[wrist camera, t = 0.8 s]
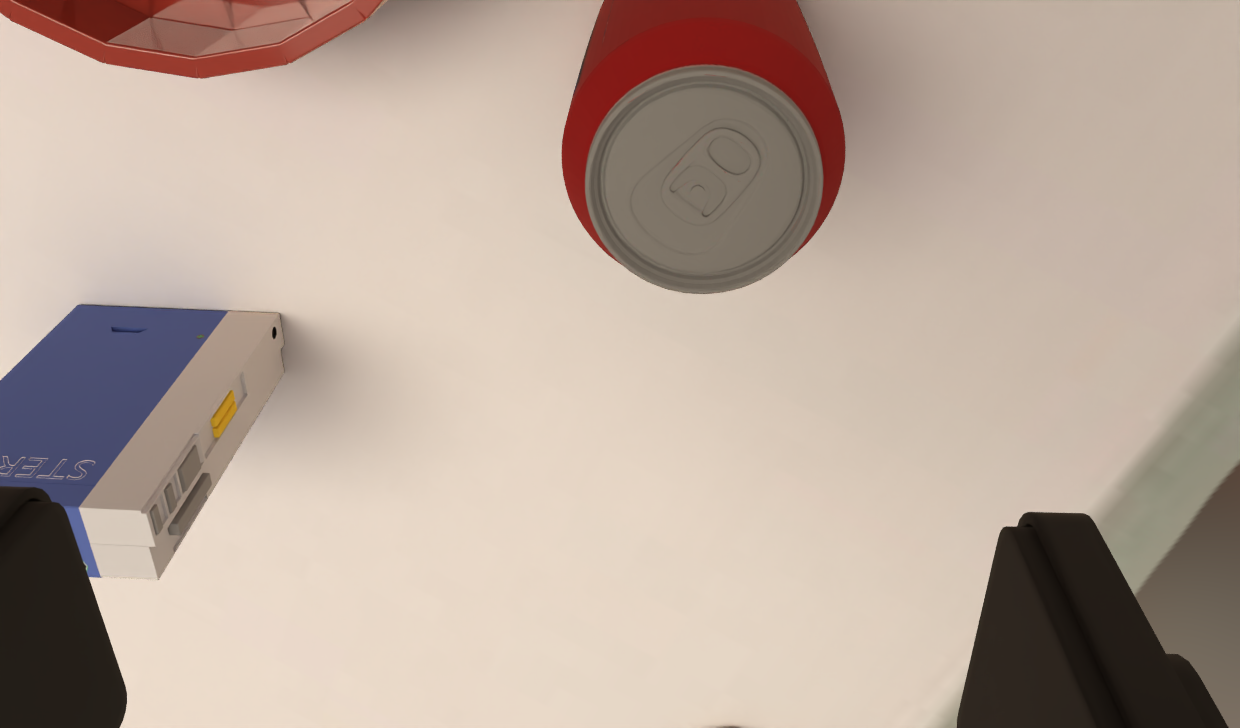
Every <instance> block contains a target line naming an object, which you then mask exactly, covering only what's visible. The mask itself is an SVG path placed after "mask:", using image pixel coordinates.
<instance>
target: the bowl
mask: <svg viewBox="0 0 1240 728" xmlns="http://www.w3.org/2000/svg"><path fill="white" fill-rule="evenodd" d="M386 1H387V0H0V13H2V14H3V15H4V16H5V17H7V18H10V20H11V21H13V22H15V23H17V24H19V25H22V26H24V27H26V28H28V29H30V30H32V31H35V32H37V33H39V34H41V35H43V36H45V37H48V38H50V39H52V40H54V41H56V42H58V43H60V44H63V45H65V46H67V47H69V48H71V49H73V50H76V51H78V52H80V53H82V54H84V55H86V56H89V57H91V58H93V59H95V60H97V61H99V62H102V63H106V64H110V65H117V66H123V67H129V68H135V69H142V70H148V71H154V72H161V73H167V74H173V75H179V76H186V77H192V78H202V79H203V78H209V77H215V76H221V75H227V74H233V73H239V72H246V71H252V70H258V69H264V68H270V67H276V66H282V65H287V64H289V63H292V62H294V61H296V60H298V59H299V58H301V57H303V56H305V55H306V54H308V53H310V52H312V51H314V50H315V49H317V48H319V47H321V46H322V45H324V44H326V43H328V42H329V41H331V40H333V39H335V38H336V37H338V36H340V35H342V34H343V33H345V32H347V31H349V30H350V29H352V28H354V27H356V26H358V25H359V24H361V23H363V22H365V21H366V20H367V19H368V18H370V17H371V16H372V15H373V14H374V13H375V12H376V11H377V10H378V9H379V8H380V7H381V6H382V5H383V4H384V3H385V2H386Z"/></svg>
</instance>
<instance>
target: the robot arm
mask: <svg viewBox="0 0 1240 728" xmlns="http://www.w3.org/2000/svg"><path fill="white" fill-rule="evenodd" d="M126 704H127V692H126V687H125V684H124V681H123V678H122V675H121V672H120V669H119V666H118V663H117V660H116V657H115V654H114V651H113V648H112V645H111V642H110V639H109V636H108V633H107V631H106V628H105V625H104V622H103V619H102V616H101V613H100V610H99V607H98V604H97V601H96V598H95V595H94V592H93V589H92V586H91V583H90V580H89V577H88V574H87V571H86V568H85V565H84V562H83V559H82V556H81V554H80V551H79V548H78V545H77V542H76V539H75V536H74V533H73V530H72V527H71V524H70V521H69V518H68V515H67V513H66V511H65V509H64V507H63V506H62V505H61V504H60V503H56V502H52V501H51V499H50V497H49V495H48V494H47V493H46V492H45V491H44V490H43V489H40V488H36V487H12V486H0V728H120V725H121V723H122V721H123V718H124V715H125V711H126ZM957 728H1228V726H1227V724H1226V723H1225V721H1224V719H1223V717H1222V716H1221V714H1220V712H1219V710H1218V708H1217V707H1216V705H1215V703H1214V701H1213V700H1212V698H1211V696H1210V694H1209V692H1208V691H1207V689H1206V687H1205V685H1204V684H1203V682H1202V680H1201V678H1200V677H1199V675H1198V674H1197V672H1196V671H1195V669H1194V668H1193V667H1192V666H1191V664H1190V663H1189V661H1187V660H1186V659H1184V658H1183V657H1181V656H1180V655H1178V654H1166V653H1165V651H1164V650H1163V648H1162V646H1161V644H1160V642H1159V640H1158V638H1157V637H1156V635H1155V634H1154V631H1153V629H1152V627H1151V626H1150V624H1149V622H1148V620H1147V618H1146V617H1145V615H1144V613H1143V611H1142V609H1141V607H1140V605H1139V604H1138V602H1137V600H1136V598H1135V596H1134V594H1133V593H1132V591H1131V589H1130V587H1129V585H1128V583H1127V581H1126V580H1125V578H1124V576H1123V574H1122V572H1121V570H1120V569H1119V567H1118V565H1117V563H1116V561H1115V559H1114V558H1113V556H1112V554H1111V552H1110V550H1109V548H1108V547H1107V545H1106V543H1105V541H1104V539H1103V537H1102V536H1101V534H1100V532H1099V530H1098V528H1097V526H1096V525H1095V523H1094V522H1093V520H1092V519H1091V517H1090V516H1088V515H1086V514H1083V513H1043V512H1027V513H1024V514H1023V516H1022V517H1021V518H1020V520H1019V523H1018V526H1017V527H1004V528H1003V529H1002V530H1001V532H1000V535H999V538H998V542H997V546H996V551H995V555H994V559H993V564H992V568H991V572H990V577H989V581H988V586H987V590H986V594H985V599H984V603H983V607H982V612H981V616H980V620H979V625H978V629H977V634H976V638H975V642H974V647H973V651H972V655H971V660H970V664H969V669H968V673H967V677H966V682H965V686H964V690H963V695H962V699H961V703H960V708H959V712H958V718H957Z"/></svg>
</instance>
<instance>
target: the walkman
mask: <svg viewBox="0 0 1240 728" xmlns="http://www.w3.org/2000/svg"><path fill="white" fill-rule="evenodd" d="M283 345H284V339H283V333H282V327H281V321H280V315H279V313H263V312H241V311H209V310H185V309H162V308H138V307H115V306H91V305H77V306H76V307H75V308H74V309H73V310H72V311H71V312H70V313H69V314H68V315H67V316H66V317H65V318H64V319H63V320H62V321H61V322H60V323H59V324H58V325H57V326H56V327H55V328H54V329H53V330H52V331H51V332H50V333H49V334H48V335H47V336H46V337H45V338H44V339H42V340H41V341H40V342H39V343H38V344H37V345H36V346H35V347H34V348H33V349H32V350H31V351H30V352H29V353H28V354H27V355H26V356H25V357H24V358H23V359H22V360H21V361H20V362H19V363H18V364H17V365H16V366H15V367H14V368H13V369H12V370H11V371H10V372H9V373H8V374H7V375H6V376H5V377H4V378H2V379H1V380H0V486H12V487H36V488H40V489H43V490H44V491H45V492H46V493H47V494H48V495H49V497H50V499H51V501H52V502H56V503H60V504H61V505H62V506H63V507H64V509H65V511H66V513H67V515H68V518H69V521H70V524H71V527H72V530H73V533H74V536H75V539H76V542H77V545H78V548H79V551H80V554H81V556H82V559H83V562H84V565H85V568H86V571H87V574H88V577H100V578H102V577H110V578H129V579H148V580H159V578H160V577H161V575H162V573H163V572H164V570H165V568H166V567H167V565H168V563H169V562H170V560H171V558H172V557H173V555H174V554H175V552H176V550H177V549H178V547H179V545H180V544H181V542H182V540H183V539H184V537H185V535H186V534H187V532H188V530H189V529H190V527H191V525H192V524H193V522H194V521H195V519H196V517H197V516H198V514H199V512H200V511H201V509H202V507H203V506H204V504H205V502H206V501H207V499H208V497H209V496H210V494H211V493H212V491H213V489H214V488H215V486H216V484H217V483H218V481H219V479H220V478H221V476H222V474H223V473H224V471H225V469H226V468H227V466H228V465H229V463H230V461H231V460H232V458H233V456H234V455H235V453H236V451H237V450H238V448H239V446H240V445H241V443H242V441H243V440H244V438H245V436H246V435H247V433H248V432H249V430H250V428H251V427H252V425H253V423H254V422H255V420H256V418H257V417H258V415H259V413H260V412H261V410H262V408H263V407H264V405H265V404H266V402H267V400H268V399H269V397H270V395H271V394H272V392H273V390H274V389H275V387H276V385H277V384H278V382H279V380H280V379H281V377H282V375H283V374H284V367H283V361H282V356H281V348H282V347H283Z"/></svg>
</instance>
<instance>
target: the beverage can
mask: <svg viewBox="0 0 1240 728" xmlns="http://www.w3.org/2000/svg"><path fill="white" fill-rule="evenodd" d="M844 164H845V135H844V128H843V123H842V119H841V115H840V111H839V108H838V105H837V103H836V100H835V97H834V94H833V91H832V88H831V85H830V83H829V80H828V77H827V74H826V71H825V69H824V66H823V64H822V61H821V58H820V56H819V53H818V50H817V48H816V45H815V43H814V40H813V38H812V36H811V33H810V31H809V28H808V26H807V24H806V21H805V19H804V17H803V15H802V12H801V10H800V8H799V6H798V4H797V1H796V0H604V2H603V4H602V7H601V9H600V12H599V14H598V17H597V20H596V23H595V26H594V28H593V31H592V34H591V37H590V40H589V43H588V46H587V49H586V53H585V56H584V59H583V62H582V66H581V69H580V73H579V76H578V79H577V83H576V86H575V90H574V94H573V98H572V101H571V105H570V109H569V113H568V117H567V121H566V125H565V128H564V134H563V141H562V168H563V176H564V181H565V186H566V190H567V193H568V196H569V199H570V202H571V204H572V206H573V209H574V211H575V213H576V215H577V217H578V219H579V220H580V222H581V223H582V225H583V227H584V228H585V229H586V231H587V232H588V233H589V235H590V236H591V237H592V239H593V240H594V241H595V242H596V243H597V244H598V245H599V246H600V247H601V248H602V249H603V250H604V251H605V252H606V253H607V254H608V255H609V256H611V257H612V258H613V259H614V260H616V261H617V262H618V263H620V264H621V265H623V266H624V267H626V268H627V269H628V270H629V271H631V272H632V273H634V274H635V275H637V276H639V277H640V278H642V279H644V280H645V281H647V282H650V283H652V284H654V285H657V286H660V287H662V288H665V289H669V290H673V291H678V292H683V293H692V294H711V293H720V292H726V291H731V290H735V289H738V288H742V287H744V286H747V285H750V284H752V283H754V282H756V281H759V280H761V279H762V278H764V277H766V276H767V275H769V274H771V273H772V272H774V271H775V270H777V269H778V268H779V267H780V266H782V265H783V264H784V263H785V262H786V261H787V260H788V259H790V258H791V257H792V256H793V255H795V254H796V253H797V252H798V251H799V250H800V249H801V248H802V247H803V246H804V245H805V244H806V243H807V242H808V241H809V240H810V239H811V238H812V237H813V236H814V234H815V233H816V232H817V230H818V229H819V228H820V226H821V225H822V223H823V222H824V220H825V219H826V217H827V215H828V214H829V212H830V210H831V208H832V206H833V204H834V201H835V199H836V196H837V194H838V191H839V188H840V185H841V181H842V176H843V172H844Z"/></svg>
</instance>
